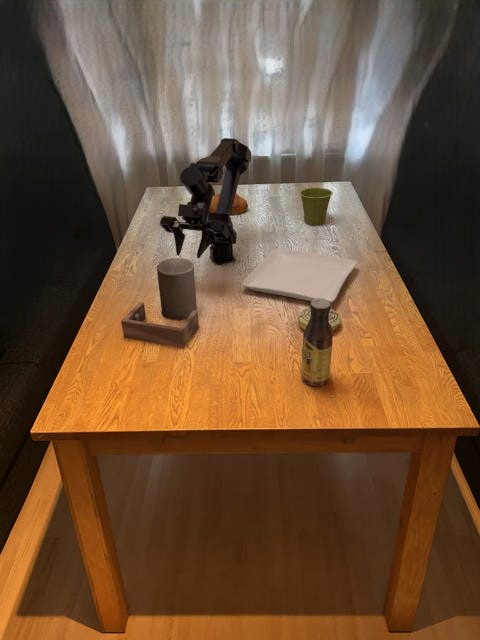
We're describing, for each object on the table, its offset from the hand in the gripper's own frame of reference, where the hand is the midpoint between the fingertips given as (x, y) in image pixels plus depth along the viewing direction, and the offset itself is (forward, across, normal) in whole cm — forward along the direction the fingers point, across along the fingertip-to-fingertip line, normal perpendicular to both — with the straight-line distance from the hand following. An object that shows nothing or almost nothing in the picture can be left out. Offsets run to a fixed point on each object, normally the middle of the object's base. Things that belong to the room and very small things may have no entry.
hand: (187, 256), depth 143 cm
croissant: (-39, -14, +58) cm, 71 cm away
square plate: (-3, +28, +22) cm, 35 cm away
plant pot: (-36, +22, +55) cm, 69 cm away
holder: (+22, 0, -4) cm, 22 cm away
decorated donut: (+13, +38, +6) cm, 40 cm away
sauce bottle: (+28, +41, -10) cm, 51 cm away
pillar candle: (+15, 0, +3) cm, 15 cm away
